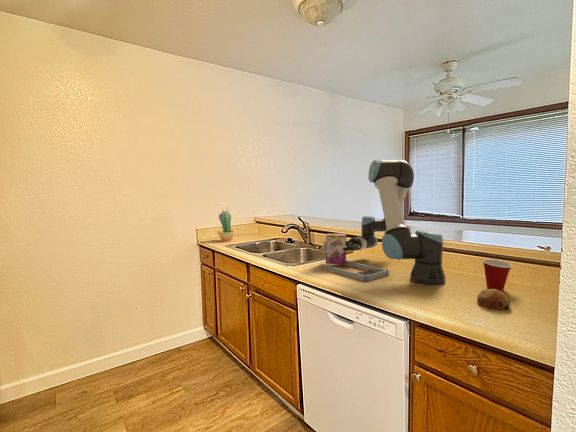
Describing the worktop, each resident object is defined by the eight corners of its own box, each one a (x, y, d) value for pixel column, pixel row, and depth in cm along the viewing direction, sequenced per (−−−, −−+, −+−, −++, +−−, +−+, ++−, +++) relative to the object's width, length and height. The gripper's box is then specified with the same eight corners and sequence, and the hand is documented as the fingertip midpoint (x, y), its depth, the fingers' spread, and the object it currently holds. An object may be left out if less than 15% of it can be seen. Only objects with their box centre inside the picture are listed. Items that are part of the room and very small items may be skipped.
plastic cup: (506, 295, 125) (508, 266, 124) (476, 288, 134) (478, 261, 133) (514, 289, 132) (516, 262, 131) (486, 283, 141) (487, 257, 140)
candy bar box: (325, 264, 172) (326, 234, 170) (325, 261, 177) (325, 233, 175) (346, 264, 171) (346, 235, 169) (345, 262, 176) (345, 233, 174)
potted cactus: (215, 240, 262) (214, 210, 260) (232, 238, 270) (232, 210, 267) (220, 243, 249) (219, 212, 247) (238, 241, 256) (238, 211, 254)
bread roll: (500, 311, 119) (494, 290, 121) (519, 310, 109) (513, 286, 112) (474, 312, 118) (470, 290, 121) (492, 310, 109) (486, 287, 111)
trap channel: (388, 275, 155) (388, 270, 155) (366, 281, 145) (366, 276, 144) (342, 263, 179) (342, 259, 179) (320, 268, 169) (320, 264, 169)
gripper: (373, 253, 175) (346, 258, 162) (342, 246, 193) (316, 251, 180) (373, 240, 174) (346, 244, 161) (342, 235, 193) (316, 238, 179)
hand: (330, 248), depth 171 cm, fingers closed on candy bar box, 11 cm apart
